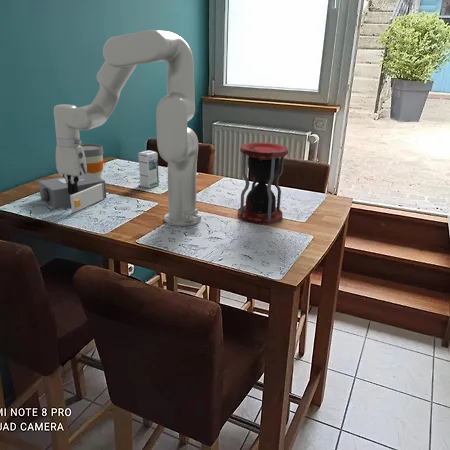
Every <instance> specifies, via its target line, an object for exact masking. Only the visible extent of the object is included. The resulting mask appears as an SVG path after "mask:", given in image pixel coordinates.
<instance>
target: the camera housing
mask: <svg viewBox="0 0 450 450" xmlns="http://www.w3.org/2000/svg"><path fill="white" fill-rule="evenodd" d="M84 176H85V179H82V180H79V182H77V185H78V192H80V191H83V190H85V189H88V188H90V187H93V186H95V185H98V184H100V183H103V186H104V199H107V188H106V186H107V185H106V180H104V179H103V178H102V179H101V178H99V177H97V176H95V175H93V174H91V173H86V174H84ZM38 186H39V194H40V199H41V200H42V201H43V202H44V203H46V204H48V205H49V206H51V207H52V208H53V209H55V210H56V209H61V208H66V207H67V208H68V207H70V206H71V199H70V195H72V194H68V185H67V183H66V181H65V179H64V177H62V176H61V177H60V176H59V177H55V178H48V179H44V180H43V179H42V180H38Z"/></svg>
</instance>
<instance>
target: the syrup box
mask: <svg viewBox="0 0 450 450" xmlns="http://www.w3.org/2000/svg"><path fill="white" fill-rule="evenodd" d="M137 154H138V169H139V170H138V171H139V185H140V186H141V187H142V188H143V187H144V188H147V189H151V188H154V187H157V186H159V185H160V182H159V179H160V178H159V161H158V160H159V159H158V156H159V155H158V152H157V151H154V150H149V149H148V150H144V151H141V152H138V153H137Z"/></svg>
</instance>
